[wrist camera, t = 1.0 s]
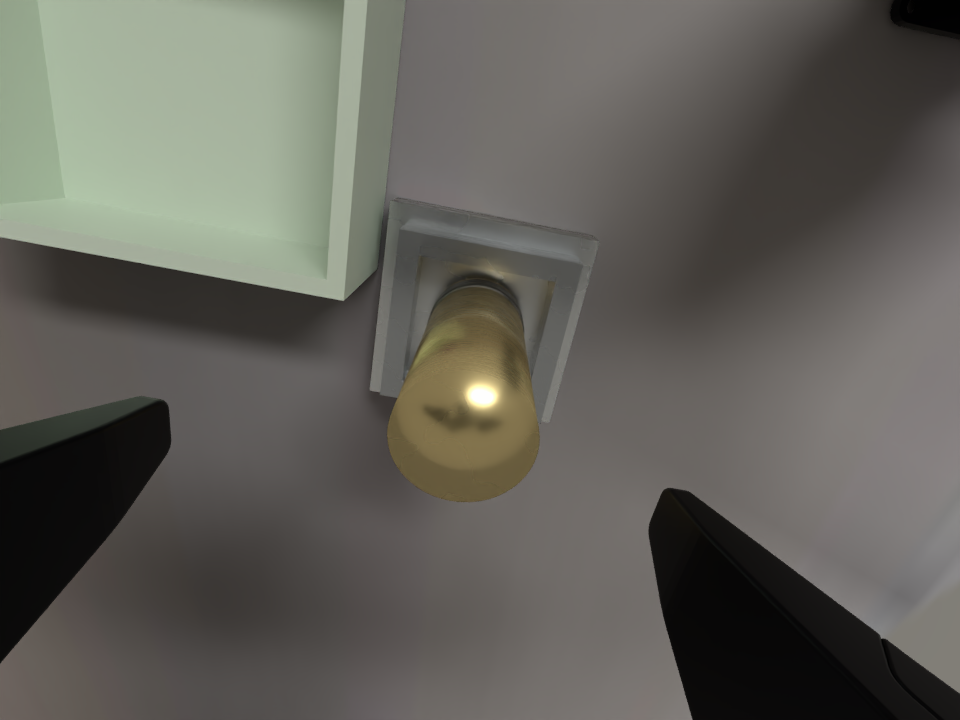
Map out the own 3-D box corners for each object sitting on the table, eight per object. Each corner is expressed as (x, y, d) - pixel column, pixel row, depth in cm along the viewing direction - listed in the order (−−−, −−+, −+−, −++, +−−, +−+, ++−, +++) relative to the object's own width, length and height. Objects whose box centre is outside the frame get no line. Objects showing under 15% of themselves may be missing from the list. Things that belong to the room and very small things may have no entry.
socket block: (592, 235, 20) (608, 248, 17) (546, 406, 23) (553, 441, 20) (397, 197, 20) (381, 204, 17) (377, 376, 23) (360, 407, 20)
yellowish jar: (531, 285, 19) (558, 385, 11) (511, 370, 21) (522, 514, 12) (438, 268, 19) (394, 354, 11) (425, 354, 20) (377, 490, 12)
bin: (419, -128, 16) (387, -248, 11) (377, 268, 21) (343, 300, 16) (2, -223, 15) (-215, -389, 10) (63, 208, 20) (-65, 225, 15)
